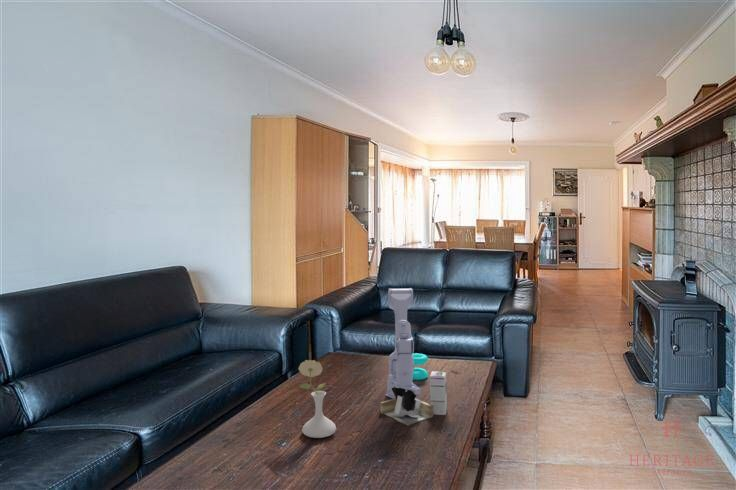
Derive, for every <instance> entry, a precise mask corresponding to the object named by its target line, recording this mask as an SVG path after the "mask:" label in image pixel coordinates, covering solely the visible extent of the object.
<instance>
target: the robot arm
mask: <svg viewBox="0 0 736 490" xmlns="http://www.w3.org/2000/svg"><path fill="white" fill-rule="evenodd" d="M387 302H388V308H389V309H390V310H393V313H394V321H395V322H394V327H395V328H394V331H395V332H394V333H395V334H394V335H395V336H394V337H395V340H394V351H393V352H392V353H391V354H389V356H388V360H389V361H388V374H389V375H388V376H387V379H386V380H387V381H386V387H387V388H386V389H387V390H386V392H387V393H386V394H385V396H386V397H389V399H390V398H391V399H394V398H396V401H397V398H398V396H404V399H405V406H406V411H410V410H412V406H413V402H414V400H415V398H417V395H420V394H421V387H418V386H417V385H416V384H415V383H413V381H414V380H413V379H412V374H413V373H414V368H415V365H414V362H413V356H412V354H413V353H414V351H415V347H414V339H413V335H412V328H411V327H412V326H411V322H409V321H408V310H410V309H412V306H413V303H414V289H413V288H412V287H409V288H391V287H389V288H388V291H387Z"/></svg>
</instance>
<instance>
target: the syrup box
mask: <svg viewBox="0 0 736 490" xmlns="http://www.w3.org/2000/svg"><path fill="white" fill-rule="evenodd" d="M429 374H430V375H429V400H430V401H429V404H430V405H432V406H433V415H436V416H446V415H447V413H448V412H447V411H448V401H447V400H448V397H447V396H448V394H447V393H448V392H447V372H446V371H439V370H438V371H437V370H435V371H431V372H430V373H429Z"/></svg>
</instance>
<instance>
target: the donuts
mask: <svg viewBox="0 0 736 490" xmlns="http://www.w3.org/2000/svg"><path fill="white" fill-rule="evenodd" d="M411 354H412V353H411ZM412 356H413V362H414V366H422V365H425V364H426V363H427V362H428V361H429V358H428V356H427V354H423V353H417V352H416V353H414V352H413V354H412ZM428 376H429V373H428V370H426V369H425V368H421V367H414V373H413V374H412V379H413V381H421V380H425V379H427V378H428Z"/></svg>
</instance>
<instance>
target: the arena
mask: <svg viewBox="0 0 736 490" xmlns="http://www.w3.org/2000/svg"><path fill="white" fill-rule="evenodd" d="M419 400H420V399H419ZM420 401H421V404H420V409H419V414H418V418H416V417H411V416H409V415H399V414H397V413H395V407H396V402H397V401H396V398H394V399H393V398H391V399H390V398H389V399H387V400H384V401H380V402H379V407H380V408H379V411H380V414H381V415H386V416H387V417H389V418H391V419H393V420H395V421H397V422H399V423H401V424H404V425H405V426H407V427H408V426H411V425H414V424H416V423H419V422H422V421H425V420H428V419H431V418H433V417H434V414H433V406H432V405H430V403H428V402H425V401H422V400H420Z"/></svg>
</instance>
